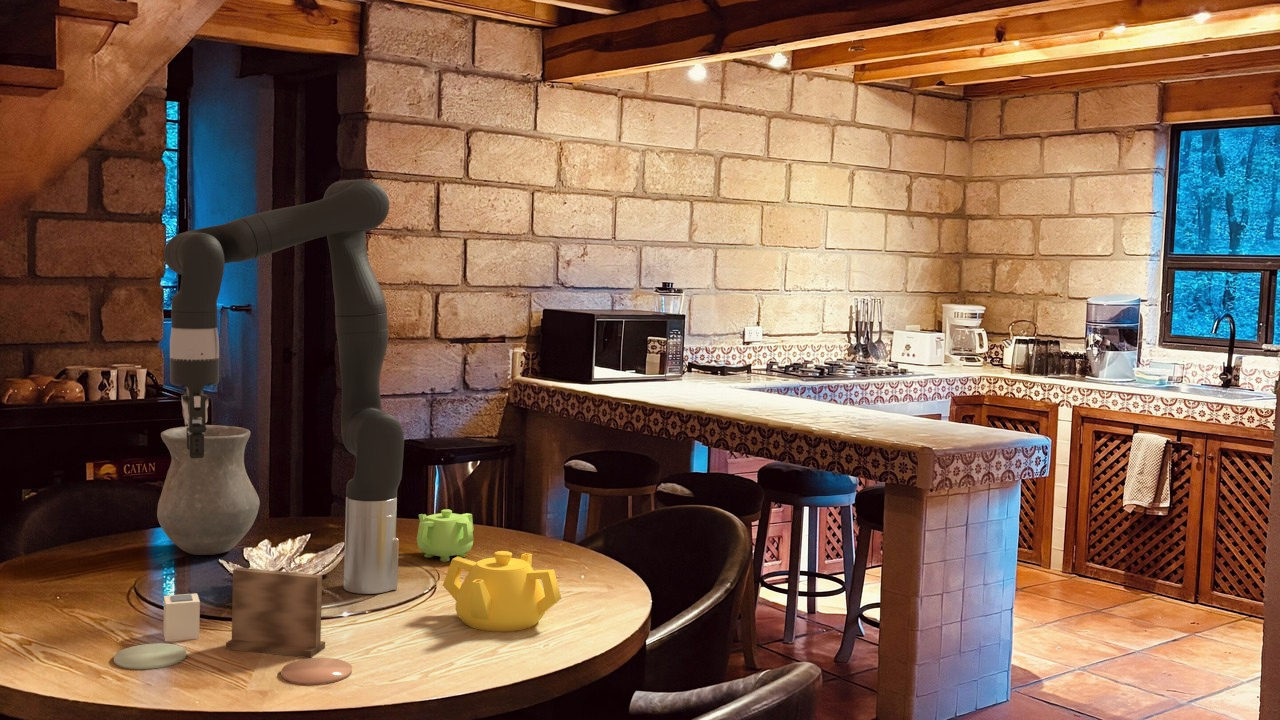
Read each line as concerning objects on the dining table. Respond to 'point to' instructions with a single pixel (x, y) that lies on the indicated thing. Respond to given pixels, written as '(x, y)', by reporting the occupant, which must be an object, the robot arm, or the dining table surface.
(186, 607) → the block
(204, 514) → the vase
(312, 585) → the occluder board
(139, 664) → the sage coaster
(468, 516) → the teapot
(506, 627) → the teapot
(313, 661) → the terracotta coaster
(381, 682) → the dining table surface
